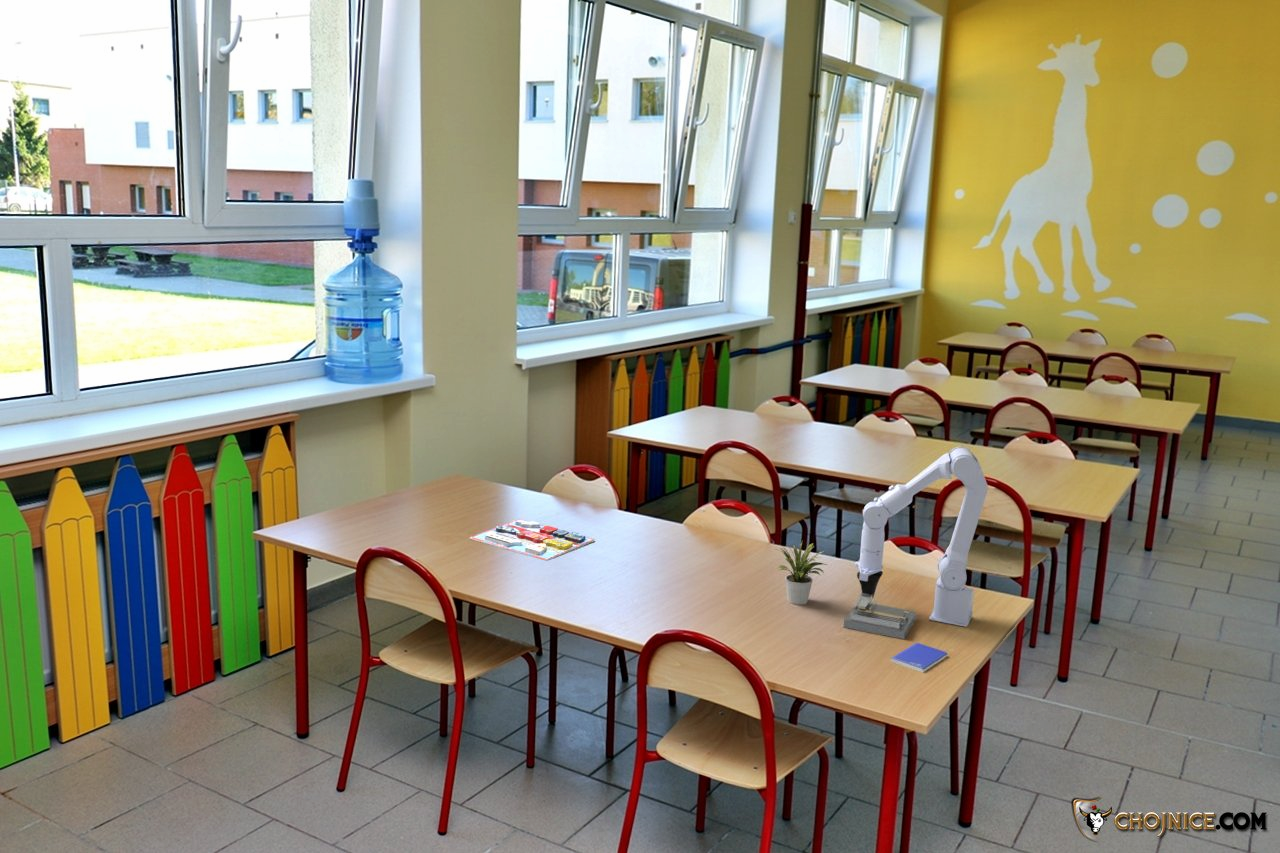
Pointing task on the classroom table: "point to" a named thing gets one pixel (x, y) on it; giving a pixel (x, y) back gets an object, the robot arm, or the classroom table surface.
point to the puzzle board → (532, 539)
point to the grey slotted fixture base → (881, 620)
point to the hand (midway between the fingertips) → (867, 598)
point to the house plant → (800, 575)
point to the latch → (865, 601)
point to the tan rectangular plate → (879, 613)
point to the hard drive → (919, 657)
